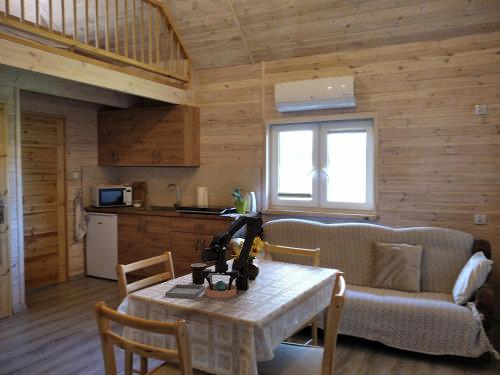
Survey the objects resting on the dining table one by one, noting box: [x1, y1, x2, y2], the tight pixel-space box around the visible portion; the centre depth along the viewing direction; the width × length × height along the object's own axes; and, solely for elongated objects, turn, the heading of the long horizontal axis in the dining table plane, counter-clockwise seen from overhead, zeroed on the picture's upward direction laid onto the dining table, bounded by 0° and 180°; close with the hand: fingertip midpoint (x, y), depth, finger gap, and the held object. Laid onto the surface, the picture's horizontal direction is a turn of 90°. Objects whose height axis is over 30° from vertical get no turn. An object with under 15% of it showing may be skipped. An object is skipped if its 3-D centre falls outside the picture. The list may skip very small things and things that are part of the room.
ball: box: [214, 280, 227, 291], centre depth 217 cm, size 6×6×6 cm
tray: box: [164, 283, 206, 299], centre depth 219 cm, size 16×16×2 cm
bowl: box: [204, 282, 238, 299], centre depth 217 cm, size 16×16×3 cm
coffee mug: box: [190, 262, 207, 285], centre depth 240 cm, size 12×9×10 cm
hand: (220, 290), depth 217 cm, fingers open, 9 cm apart
